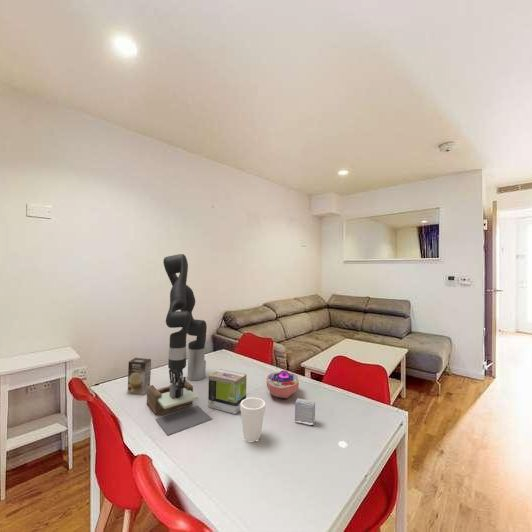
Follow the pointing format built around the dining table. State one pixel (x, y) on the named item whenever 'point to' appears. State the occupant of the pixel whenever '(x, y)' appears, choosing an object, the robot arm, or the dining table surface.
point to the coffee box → (139, 376)
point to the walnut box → (156, 393)
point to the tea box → (226, 390)
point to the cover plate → (176, 401)
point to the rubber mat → (182, 420)
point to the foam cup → (252, 417)
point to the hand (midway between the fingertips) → (176, 395)
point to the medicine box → (305, 410)
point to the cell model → (282, 384)
